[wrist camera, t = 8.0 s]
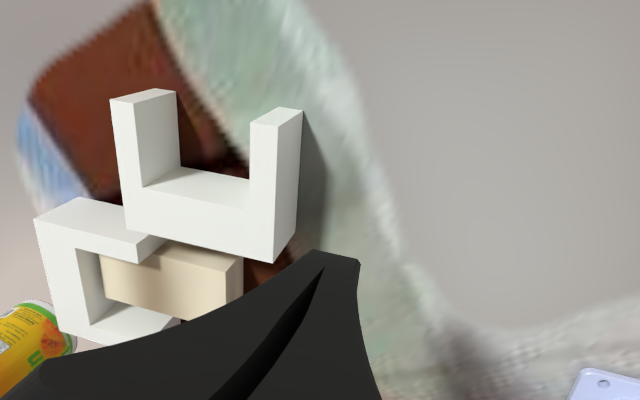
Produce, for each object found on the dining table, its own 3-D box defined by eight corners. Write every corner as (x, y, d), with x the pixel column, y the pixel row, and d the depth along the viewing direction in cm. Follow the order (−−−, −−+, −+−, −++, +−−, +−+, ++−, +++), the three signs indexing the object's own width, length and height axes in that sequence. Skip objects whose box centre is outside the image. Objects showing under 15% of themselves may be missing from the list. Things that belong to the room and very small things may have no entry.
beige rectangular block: (245, 248, 24) (225, 272, 22) (245, 304, 26) (226, 331, 24) (126, 221, 26) (96, 240, 24) (133, 274, 28) (105, 297, 25)
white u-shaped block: (154, 88, 21) (109, 99, 18) (303, 110, 20) (278, 126, 17) (164, 203, 24) (126, 228, 21) (295, 232, 22) (272, 263, 19)
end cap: (172, 217, 24) (135, 244, 21) (180, 324, 28) (149, 359, 25) (78, 196, 26) (32, 218, 23) (97, 300, 29) (59, 330, 26)
